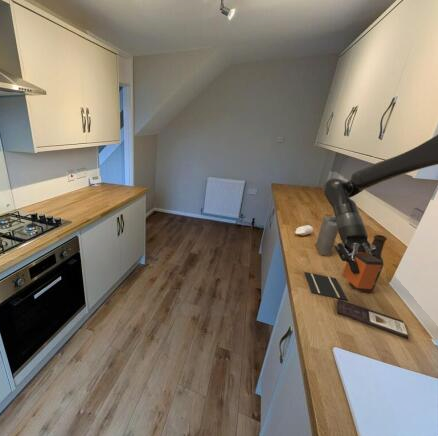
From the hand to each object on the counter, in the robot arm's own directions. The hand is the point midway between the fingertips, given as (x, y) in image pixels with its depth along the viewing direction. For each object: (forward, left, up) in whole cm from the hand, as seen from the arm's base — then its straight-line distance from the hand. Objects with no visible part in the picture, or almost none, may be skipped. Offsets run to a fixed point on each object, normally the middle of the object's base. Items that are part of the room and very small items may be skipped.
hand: (364, 273), depth 80 cm
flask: (-4, -55, -17) cm, 58 cm away
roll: (+4, -74, -11) cm, 75 cm away
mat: (+4, -16, -17) cm, 24 cm away
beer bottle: (-10, -21, -17) cm, 29 cm away
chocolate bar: (-6, 0, -18) cm, 18 cm away
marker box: (+1, -2, -5) cm, 5 cm away
